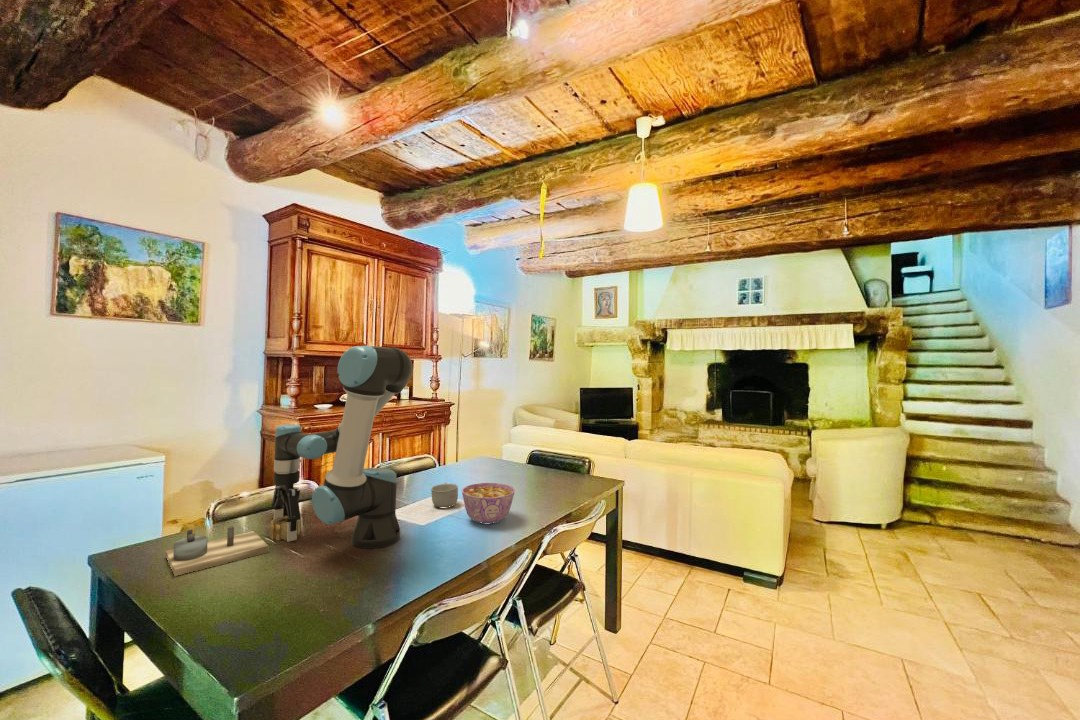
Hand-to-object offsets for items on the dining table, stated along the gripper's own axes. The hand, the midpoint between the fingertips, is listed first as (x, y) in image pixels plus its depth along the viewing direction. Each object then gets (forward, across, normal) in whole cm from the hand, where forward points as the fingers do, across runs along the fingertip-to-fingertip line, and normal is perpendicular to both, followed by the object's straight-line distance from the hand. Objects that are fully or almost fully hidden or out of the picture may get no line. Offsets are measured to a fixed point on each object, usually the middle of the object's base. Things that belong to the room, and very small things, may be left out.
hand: (284, 534), depth 146 cm
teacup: (0, -10, -57) cm, 58 cm away
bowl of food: (0, -36, -58) cm, 69 cm away
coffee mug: (0, +19, -7) cm, 20 cm away
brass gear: (0, 0, 0) cm, 0 cm away
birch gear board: (0, -3, +19) cm, 19 cm away
